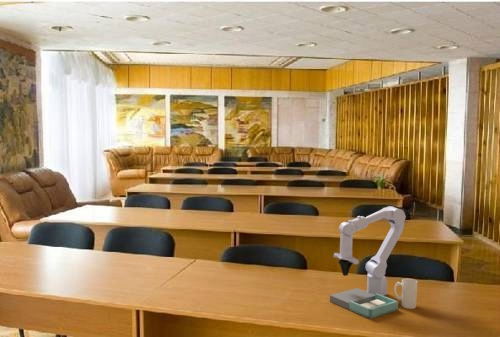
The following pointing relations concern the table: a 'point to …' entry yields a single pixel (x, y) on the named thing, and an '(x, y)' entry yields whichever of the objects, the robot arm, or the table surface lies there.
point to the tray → (376, 311)
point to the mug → (407, 292)
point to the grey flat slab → (351, 297)
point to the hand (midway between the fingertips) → (345, 275)
